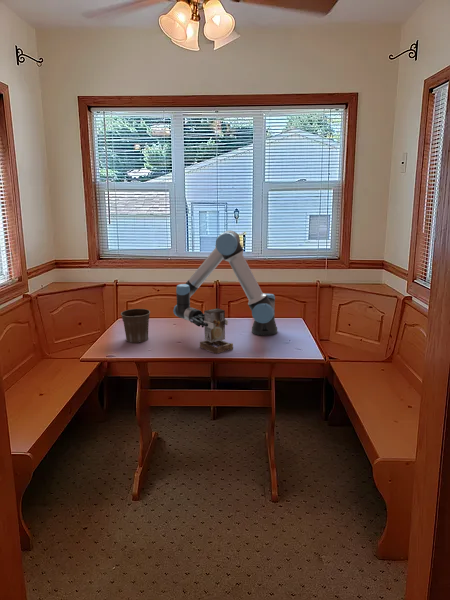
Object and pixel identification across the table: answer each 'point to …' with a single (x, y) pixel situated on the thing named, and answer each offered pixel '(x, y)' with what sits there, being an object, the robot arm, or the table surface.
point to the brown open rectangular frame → (222, 347)
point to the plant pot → (136, 324)
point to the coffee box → (215, 325)
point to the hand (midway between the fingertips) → (220, 324)
